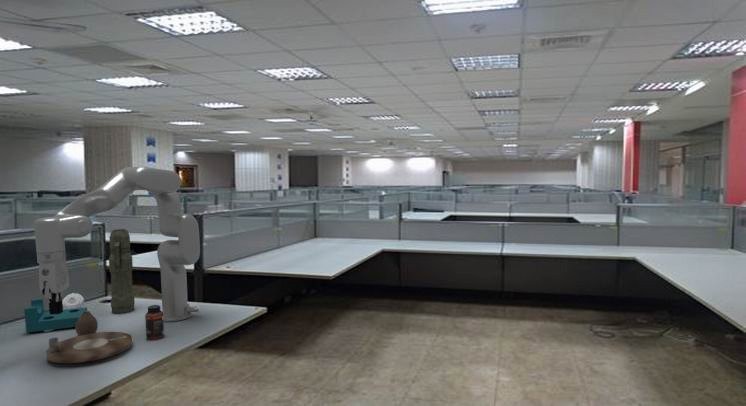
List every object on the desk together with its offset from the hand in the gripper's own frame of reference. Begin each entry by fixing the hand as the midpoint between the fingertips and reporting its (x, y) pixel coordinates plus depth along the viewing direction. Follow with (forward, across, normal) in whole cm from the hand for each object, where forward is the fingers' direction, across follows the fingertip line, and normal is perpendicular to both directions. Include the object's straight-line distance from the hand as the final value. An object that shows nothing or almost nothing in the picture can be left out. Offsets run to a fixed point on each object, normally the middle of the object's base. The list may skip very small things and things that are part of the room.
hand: (56, 313), depth 152 cm
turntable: (+13, +1, -9) cm, 16 cm away
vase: (+15, +20, -1) cm, 25 cm away
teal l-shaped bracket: (+15, +34, +14) cm, 40 cm away
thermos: (+15, +51, -4) cm, 53 cm away
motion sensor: (+15, +56, +17) cm, 60 cm away
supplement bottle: (+15, +12, -26) cm, 32 cm away
